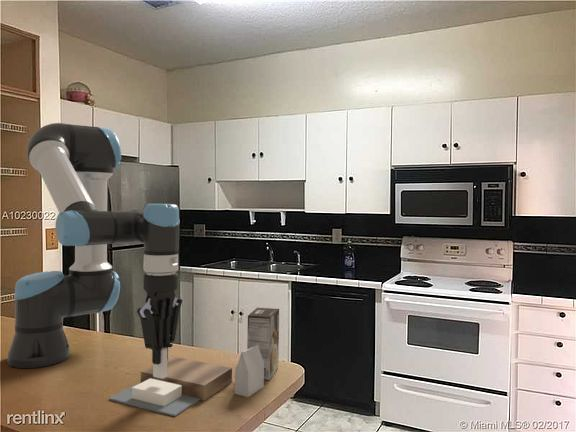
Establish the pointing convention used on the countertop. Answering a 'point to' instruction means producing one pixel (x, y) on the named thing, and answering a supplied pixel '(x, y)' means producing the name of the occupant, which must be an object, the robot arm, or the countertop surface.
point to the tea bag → (249, 372)
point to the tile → (157, 392)
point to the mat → (169, 409)
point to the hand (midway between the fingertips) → (160, 376)
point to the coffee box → (265, 337)
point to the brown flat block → (193, 377)
